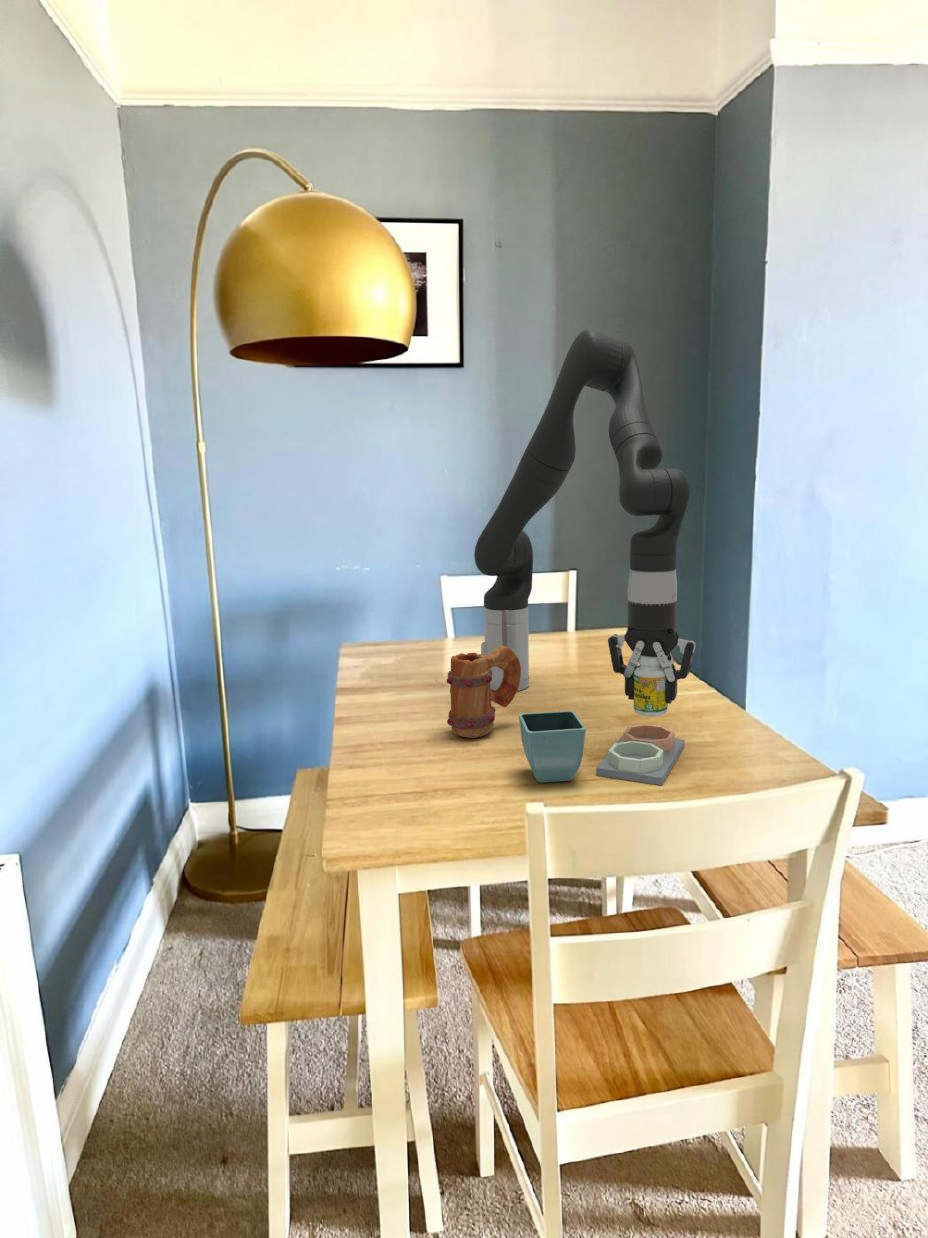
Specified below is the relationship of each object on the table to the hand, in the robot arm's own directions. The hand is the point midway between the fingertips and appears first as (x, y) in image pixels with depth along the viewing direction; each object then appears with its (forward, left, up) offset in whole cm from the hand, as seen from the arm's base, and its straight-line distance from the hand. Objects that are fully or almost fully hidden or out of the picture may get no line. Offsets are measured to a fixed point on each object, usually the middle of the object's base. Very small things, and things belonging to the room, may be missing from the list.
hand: (650, 699), depth 128 cm
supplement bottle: (0, 0, -2) cm, 2 cm away
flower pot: (-11, -16, -9) cm, 21 cm away
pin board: (0, -4, -9) cm, 10 cm away
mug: (-29, -1, -9) cm, 30 cm away
